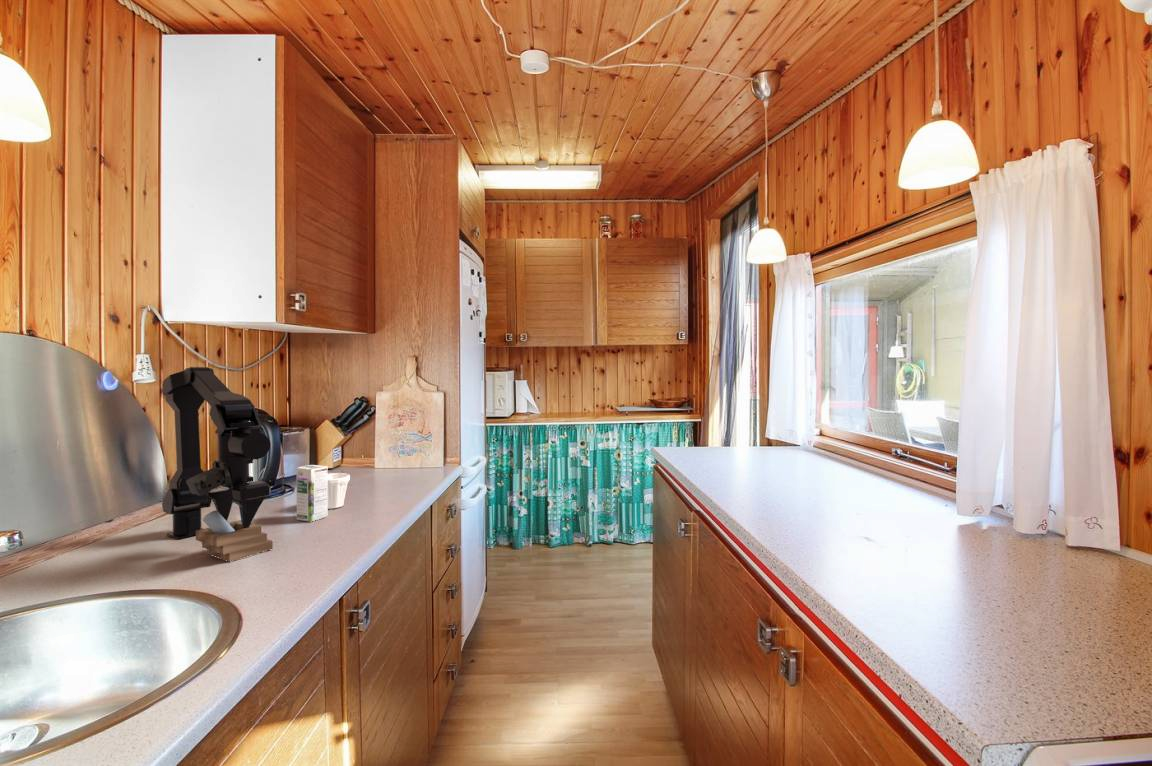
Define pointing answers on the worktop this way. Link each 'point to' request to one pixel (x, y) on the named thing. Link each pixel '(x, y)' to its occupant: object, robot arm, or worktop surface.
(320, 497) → the syrup box
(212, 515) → the gray dowel
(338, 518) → the worktop surface
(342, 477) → the cup
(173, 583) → the worktop surface
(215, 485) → the robot arm
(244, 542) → the leaning socket
